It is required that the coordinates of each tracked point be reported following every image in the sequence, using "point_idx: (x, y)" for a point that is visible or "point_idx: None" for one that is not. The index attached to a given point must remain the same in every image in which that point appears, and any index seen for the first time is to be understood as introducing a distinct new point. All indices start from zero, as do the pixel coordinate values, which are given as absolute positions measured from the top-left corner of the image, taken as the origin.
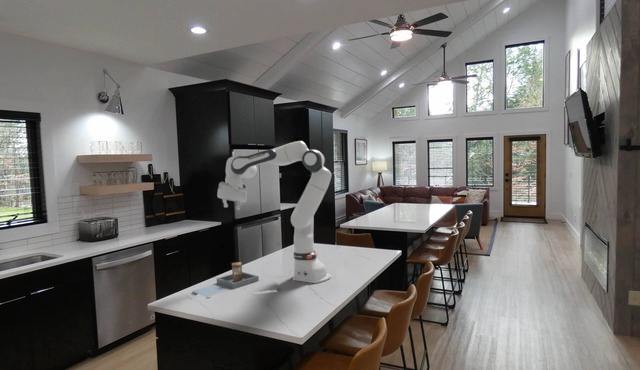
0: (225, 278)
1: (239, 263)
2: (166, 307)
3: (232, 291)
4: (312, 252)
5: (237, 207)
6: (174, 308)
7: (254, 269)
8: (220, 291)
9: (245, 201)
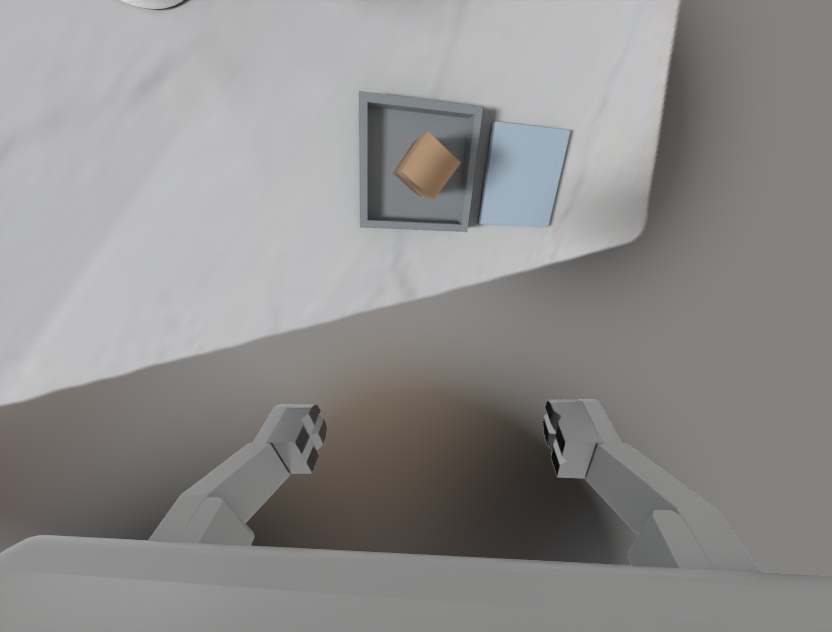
0: (434, 222)
1: (423, 154)
2: (647, 182)
3: None
4: None
5: (309, 433)
6: (649, 151)
7: (260, 270)
8: (518, 131)
9: (11, 555)
